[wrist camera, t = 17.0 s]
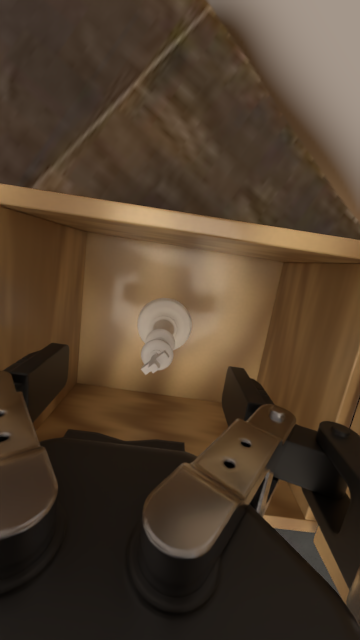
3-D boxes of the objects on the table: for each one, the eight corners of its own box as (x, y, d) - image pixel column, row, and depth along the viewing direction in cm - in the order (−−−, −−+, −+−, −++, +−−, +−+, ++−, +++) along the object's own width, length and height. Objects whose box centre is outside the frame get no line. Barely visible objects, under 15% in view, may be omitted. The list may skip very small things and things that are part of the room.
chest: (71, 385, 26) (-22, 492, 14) (82, 222, 23) (-30, 178, 11) (254, 410, 27) (315, 533, 15) (290, 254, 23) (409, 247, 11)
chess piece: (202, 329, 24) (217, 376, 14) (160, 360, 25) (146, 424, 15) (169, 286, 23) (161, 305, 13) (126, 319, 24) (89, 359, 14)
